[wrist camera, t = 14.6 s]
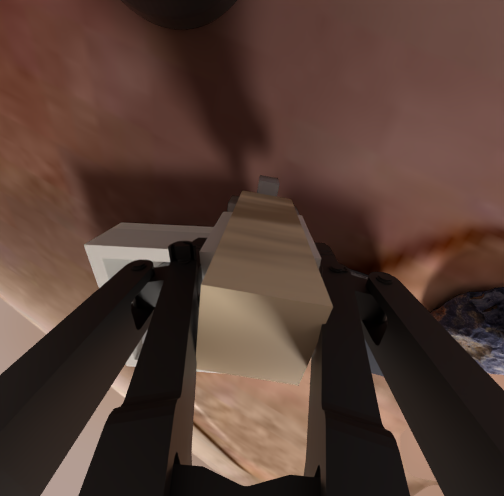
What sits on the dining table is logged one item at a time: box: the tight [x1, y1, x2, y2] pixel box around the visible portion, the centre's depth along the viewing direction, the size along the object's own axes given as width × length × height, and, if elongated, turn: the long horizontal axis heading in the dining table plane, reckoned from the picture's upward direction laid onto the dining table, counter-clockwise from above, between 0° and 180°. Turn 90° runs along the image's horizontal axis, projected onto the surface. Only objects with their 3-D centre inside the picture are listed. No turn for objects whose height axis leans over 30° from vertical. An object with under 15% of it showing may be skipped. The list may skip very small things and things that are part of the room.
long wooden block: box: [196, 175, 333, 386], centre depth 14 cm, size 6×6×15 cm
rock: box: [431, 287, 504, 375], centre depth 28 cm, size 11×10×10 cm
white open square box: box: [84, 222, 217, 373], centre depth 29 cm, size 19×19×7 cm
